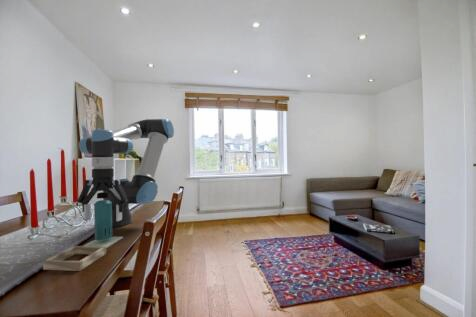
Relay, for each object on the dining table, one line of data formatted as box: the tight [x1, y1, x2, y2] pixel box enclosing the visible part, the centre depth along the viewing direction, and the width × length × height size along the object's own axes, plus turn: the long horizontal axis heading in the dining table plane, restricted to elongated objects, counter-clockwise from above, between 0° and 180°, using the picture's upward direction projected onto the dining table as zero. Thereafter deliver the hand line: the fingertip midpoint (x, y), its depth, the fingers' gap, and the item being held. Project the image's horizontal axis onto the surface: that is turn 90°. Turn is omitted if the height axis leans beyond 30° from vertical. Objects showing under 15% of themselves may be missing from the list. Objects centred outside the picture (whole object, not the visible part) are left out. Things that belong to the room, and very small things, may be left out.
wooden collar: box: [42, 245, 107, 272], centre depth 73 cm, size 12×12×2 cm
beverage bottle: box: [93, 191, 114, 240], centre depth 89 cm, size 6×7×20 cm
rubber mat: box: [83, 236, 124, 249], centre depth 89 cm, size 11×10×1 cm
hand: (103, 220), depth 89 cm, fingers open, 13 cm apart
